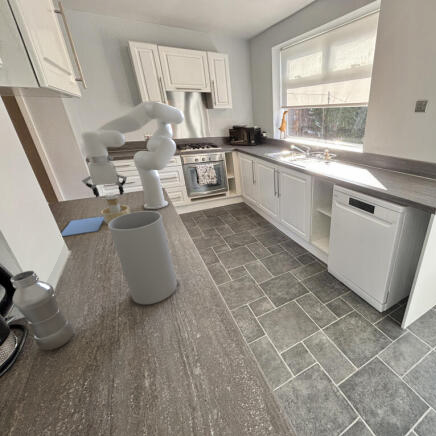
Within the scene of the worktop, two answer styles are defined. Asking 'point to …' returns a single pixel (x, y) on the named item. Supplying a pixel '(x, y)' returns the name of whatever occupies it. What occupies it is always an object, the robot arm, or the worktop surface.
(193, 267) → the worktop surface
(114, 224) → the cylinder vase
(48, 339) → the plastic bottle
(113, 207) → the sprinkles bottle
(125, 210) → the bowl
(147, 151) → the robot arm
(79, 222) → the cloth
